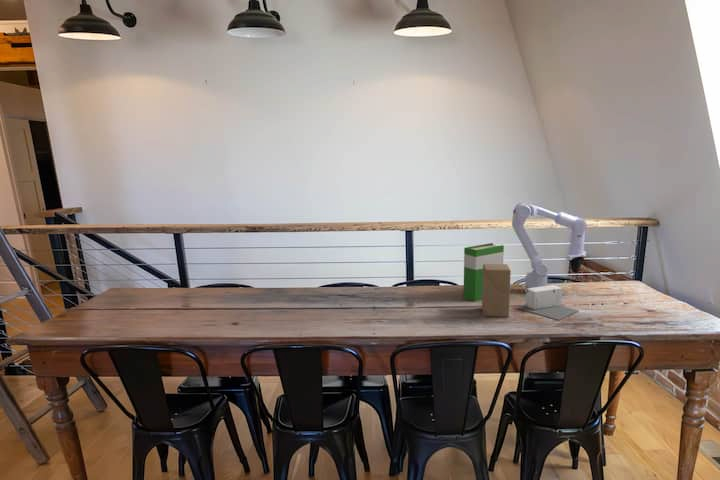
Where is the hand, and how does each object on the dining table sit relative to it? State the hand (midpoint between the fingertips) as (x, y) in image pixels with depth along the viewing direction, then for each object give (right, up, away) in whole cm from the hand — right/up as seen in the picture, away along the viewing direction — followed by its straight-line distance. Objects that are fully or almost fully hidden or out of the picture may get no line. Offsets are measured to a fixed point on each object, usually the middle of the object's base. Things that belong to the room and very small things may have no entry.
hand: (575, 272), depth 202 cm
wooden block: (-43, -16, -19) cm, 50 cm away
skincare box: (-14, -9, -12) cm, 20 cm away
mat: (-20, -15, -18) cm, 31 cm away
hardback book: (-42, -12, +3) cm, 44 cm away
